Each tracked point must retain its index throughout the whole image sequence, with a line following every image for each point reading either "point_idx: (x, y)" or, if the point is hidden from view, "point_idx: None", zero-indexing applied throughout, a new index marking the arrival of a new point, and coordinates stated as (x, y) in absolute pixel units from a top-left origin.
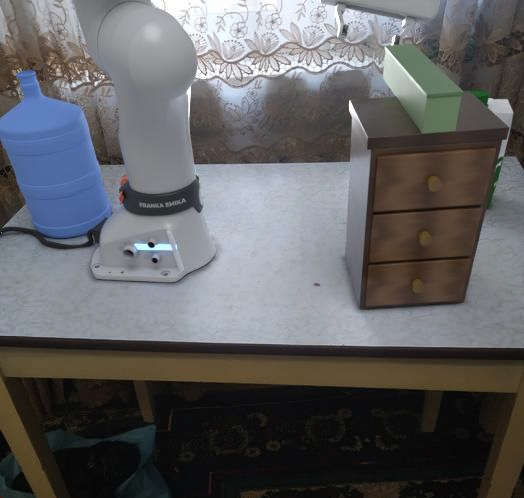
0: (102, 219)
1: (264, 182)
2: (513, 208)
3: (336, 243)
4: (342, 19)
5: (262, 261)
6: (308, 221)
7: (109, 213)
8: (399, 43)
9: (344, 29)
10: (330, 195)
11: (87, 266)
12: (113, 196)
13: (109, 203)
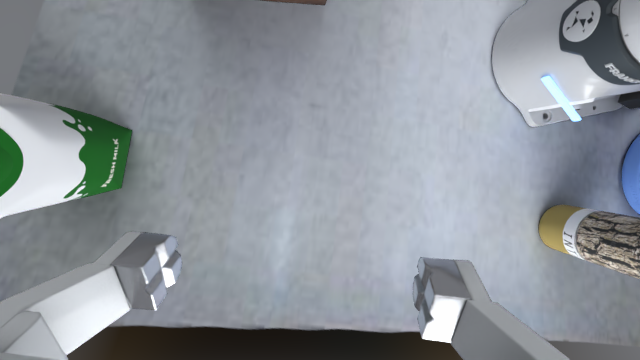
0: (637, 148)
1: None
2: None
3: (332, 47)
4: (494, 318)
5: (434, 18)
6: (364, 121)
7: (629, 167)
8: (134, 237)
9: (450, 275)
10: (321, 202)
11: None
12: None
13: (637, 184)
